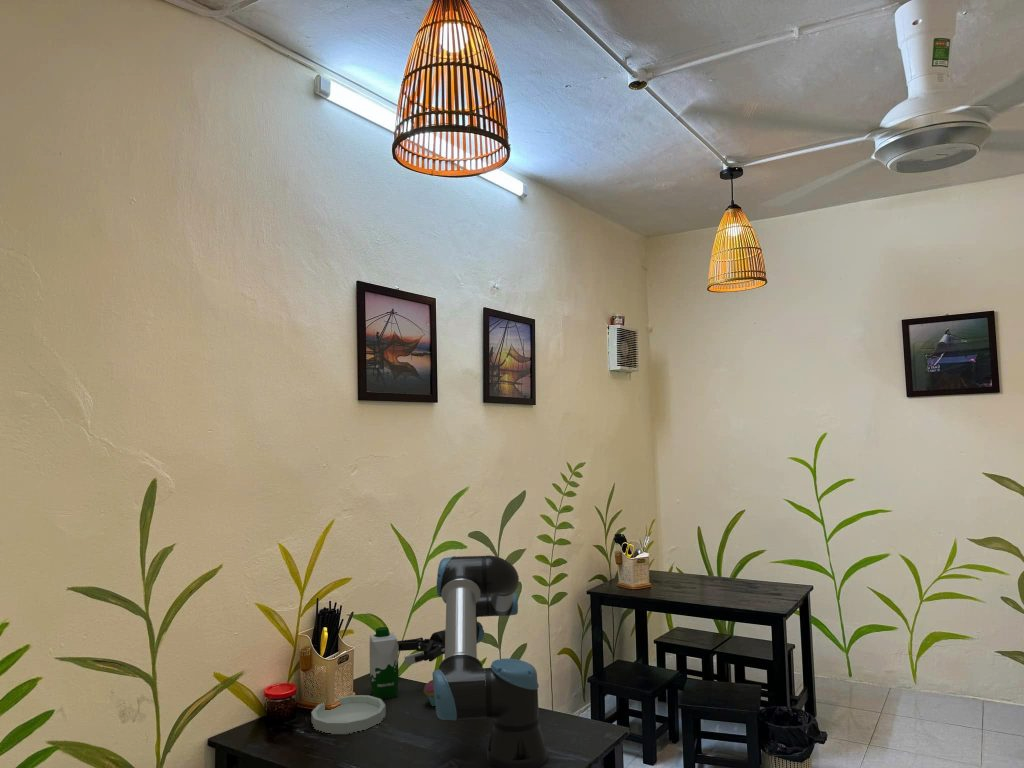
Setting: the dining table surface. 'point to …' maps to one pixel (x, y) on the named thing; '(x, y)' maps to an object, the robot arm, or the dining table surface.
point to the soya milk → (384, 664)
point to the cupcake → (430, 692)
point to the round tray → (349, 715)
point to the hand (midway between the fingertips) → (392, 656)
